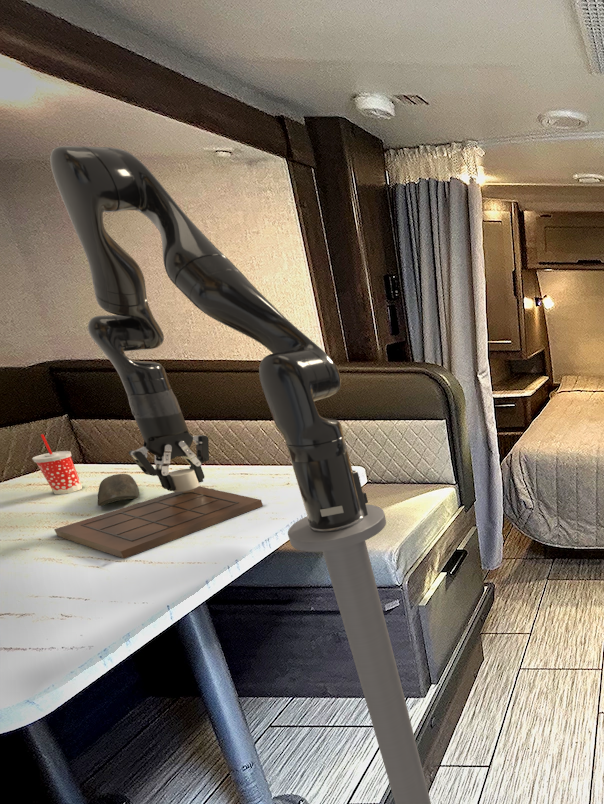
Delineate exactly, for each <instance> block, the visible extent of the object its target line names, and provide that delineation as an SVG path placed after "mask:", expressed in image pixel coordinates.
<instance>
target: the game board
mask: <svg viewBox="0 0 604 804" xmlns="http://www.w3.org/2000/svg"><path fill="white" fill-rule="evenodd" d="M261 507H264V505H263V501H262V499H259V498H255V497H249V496H245V495H241V494H237V493H232V492H228V491H223V490H218V489H215V488H209V487H205V486H201V485H200V486H199V487H197V488H195V489H192V490H188V491H183V492H173V491H172V492H170V493H166V494H164V495H160V496H157V497H153V498H149V499H146V500H144V501H141V502H138V503H135V504H131V505H128V506H124V507H122V508H121V507H120V508H119V509H114V510H112V511H111V510H110V511H108V512H105V513H102V514H99V515H96V516H92V517H89V518H86V519H83V520H79V521H76V522H73V523H70V524H66V525H63V526H60V527H56V528H54V532H55V533H56V536H57V537H59V538H63V539H65V540H68V541H70V542H74V543H77V544H81V545H82V546H85V547H89V548H90V549H95V550H98V551H100V552H104V553H106V554H109V555H112V556H115V557H118V558H121V559H124V560H125V559H128V558H129V557H132V556H135V555H137V554H140V553H144V552H145V551H148V550H150V549H153V548H156V547H159V546H161V545H165V544H167V543H169V542H172V541H174V540H178V539H180V538H183V537H185V536H187V535H190V534H193V533H196V532H199V531H201V530H204V529H206V528H209V527H212V526H214V525H217V524H219V523H222V522H224V521H227V520H230V519H233V518H235V517H238V516H241V515H242V514H243V515H244V514H246V513H248V512H251V511H254V510H256V509H259V508H261Z"/></svg>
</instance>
